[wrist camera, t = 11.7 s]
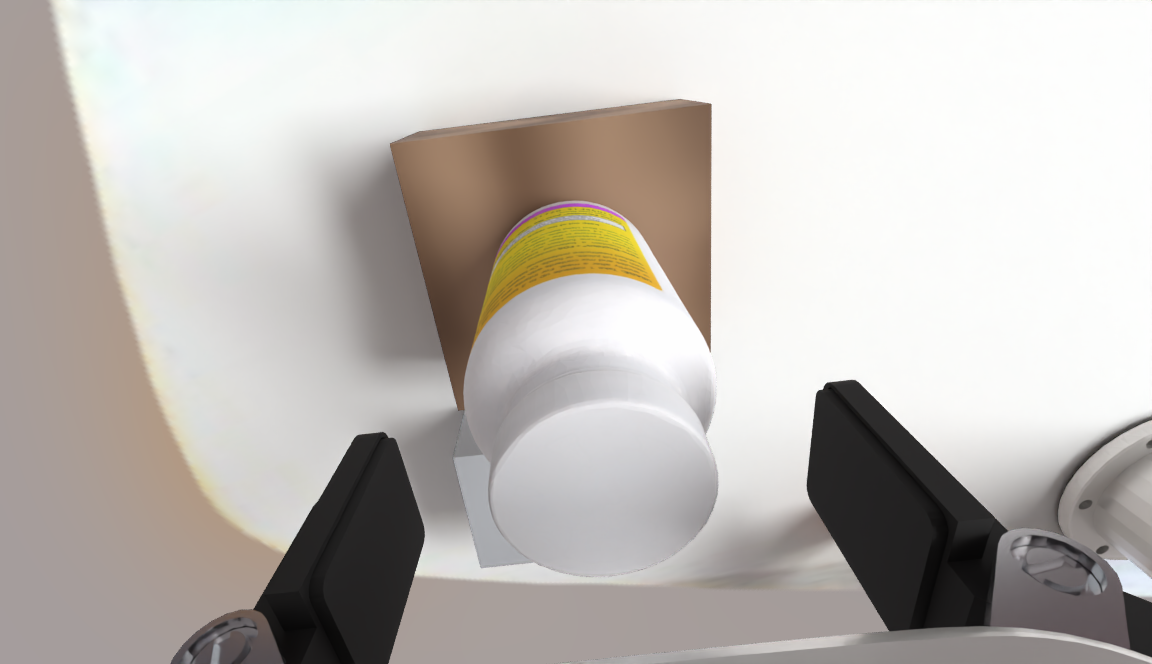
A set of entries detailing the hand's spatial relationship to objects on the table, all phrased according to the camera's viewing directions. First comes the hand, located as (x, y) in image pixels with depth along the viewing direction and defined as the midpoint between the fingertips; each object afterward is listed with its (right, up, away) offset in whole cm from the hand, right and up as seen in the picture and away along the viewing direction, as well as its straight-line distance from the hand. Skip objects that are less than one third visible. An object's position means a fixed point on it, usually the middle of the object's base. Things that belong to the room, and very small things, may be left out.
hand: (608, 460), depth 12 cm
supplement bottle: (-1, +5, +10) cm, 12 cm away
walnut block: (-1, +7, +15) cm, 17 cm away
